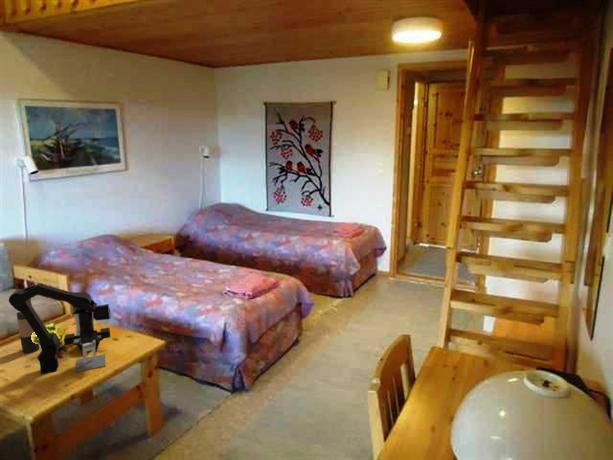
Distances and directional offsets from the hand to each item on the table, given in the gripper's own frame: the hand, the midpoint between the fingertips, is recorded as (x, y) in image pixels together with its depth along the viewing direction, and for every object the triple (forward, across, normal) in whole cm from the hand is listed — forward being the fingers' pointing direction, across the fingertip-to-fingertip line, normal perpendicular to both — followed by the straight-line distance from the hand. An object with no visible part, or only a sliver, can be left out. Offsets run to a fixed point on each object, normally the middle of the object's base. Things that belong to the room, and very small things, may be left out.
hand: (89, 353), depth 204 cm
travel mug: (+5, -27, +27) cm, 38 cm away
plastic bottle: (+5, -4, +29) cm, 30 cm away
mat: (+5, 0, 0) cm, 5 cm away
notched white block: (+2, 0, 0) cm, 3 cm away
